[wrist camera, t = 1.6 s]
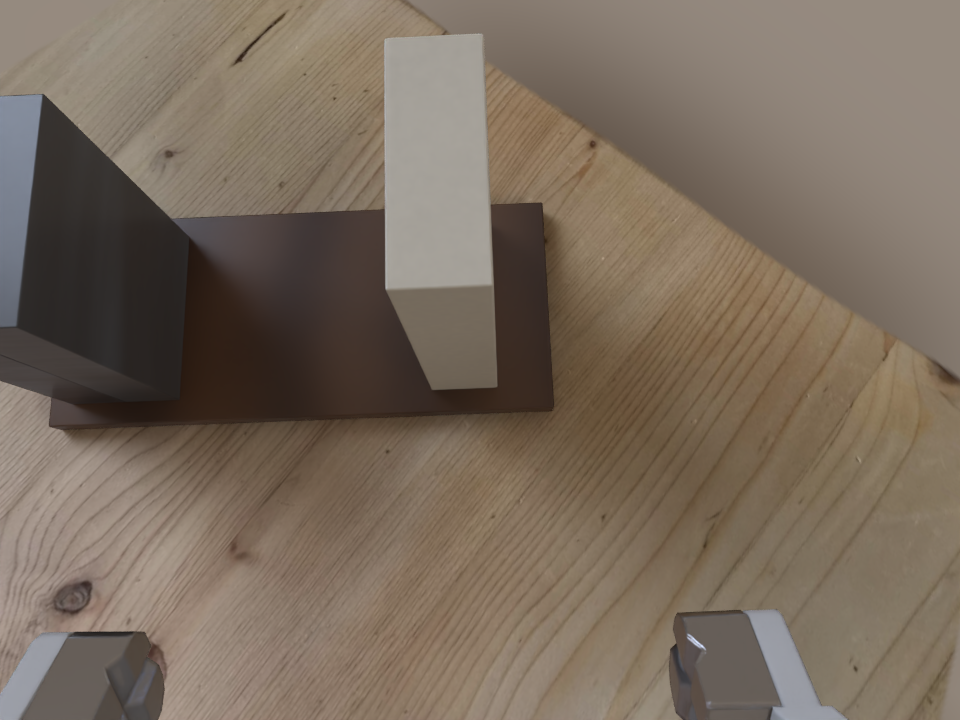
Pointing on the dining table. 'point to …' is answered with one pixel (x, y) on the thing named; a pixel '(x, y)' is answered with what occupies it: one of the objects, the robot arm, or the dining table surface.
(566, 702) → the dining table surface
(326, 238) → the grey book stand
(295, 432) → the dining table surface
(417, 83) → the white book
